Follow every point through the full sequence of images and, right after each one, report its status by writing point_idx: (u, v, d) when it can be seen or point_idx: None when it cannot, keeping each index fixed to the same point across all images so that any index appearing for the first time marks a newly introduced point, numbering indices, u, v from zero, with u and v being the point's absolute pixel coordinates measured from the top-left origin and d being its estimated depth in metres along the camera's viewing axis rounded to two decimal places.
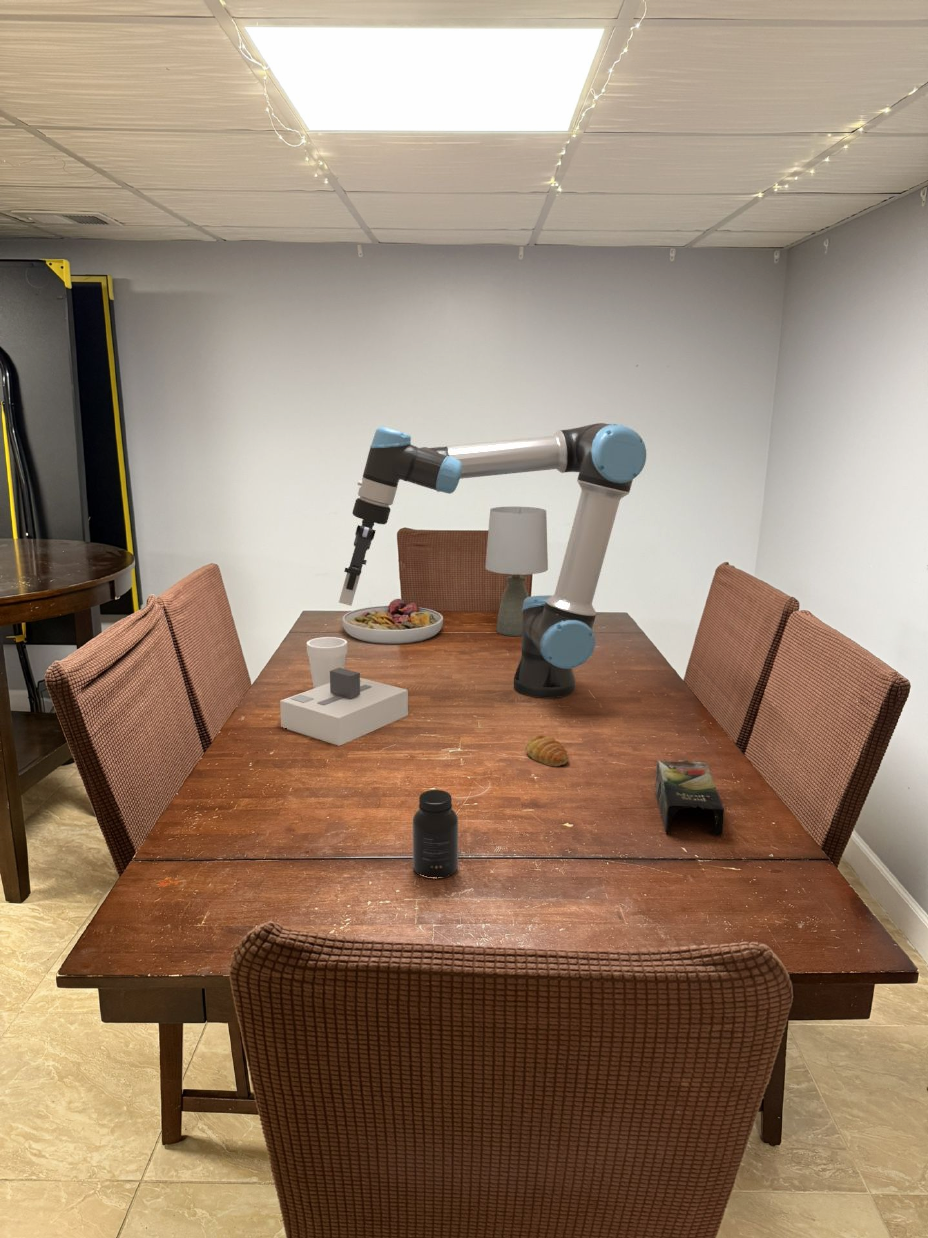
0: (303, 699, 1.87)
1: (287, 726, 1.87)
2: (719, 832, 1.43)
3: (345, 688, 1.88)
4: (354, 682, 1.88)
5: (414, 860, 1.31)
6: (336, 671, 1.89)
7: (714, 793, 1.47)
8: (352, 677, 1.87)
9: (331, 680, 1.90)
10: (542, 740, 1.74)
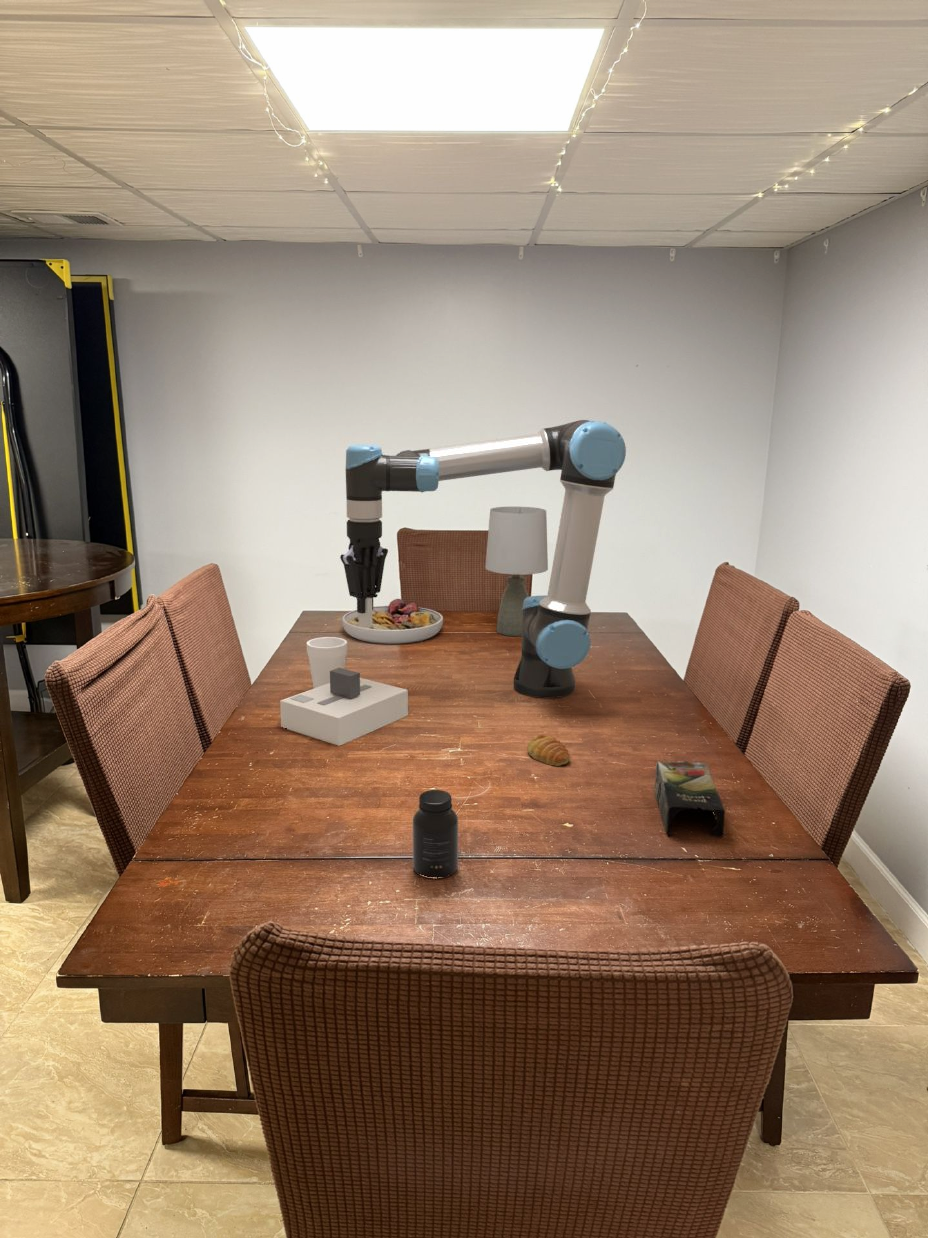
0: (303, 699, 1.87)
1: (287, 726, 1.87)
2: (719, 834, 1.43)
3: (345, 688, 1.88)
4: (354, 682, 1.88)
5: (414, 860, 1.31)
6: (336, 671, 1.89)
7: (714, 794, 1.47)
8: (352, 677, 1.87)
9: (331, 680, 1.90)
10: (543, 740, 1.74)
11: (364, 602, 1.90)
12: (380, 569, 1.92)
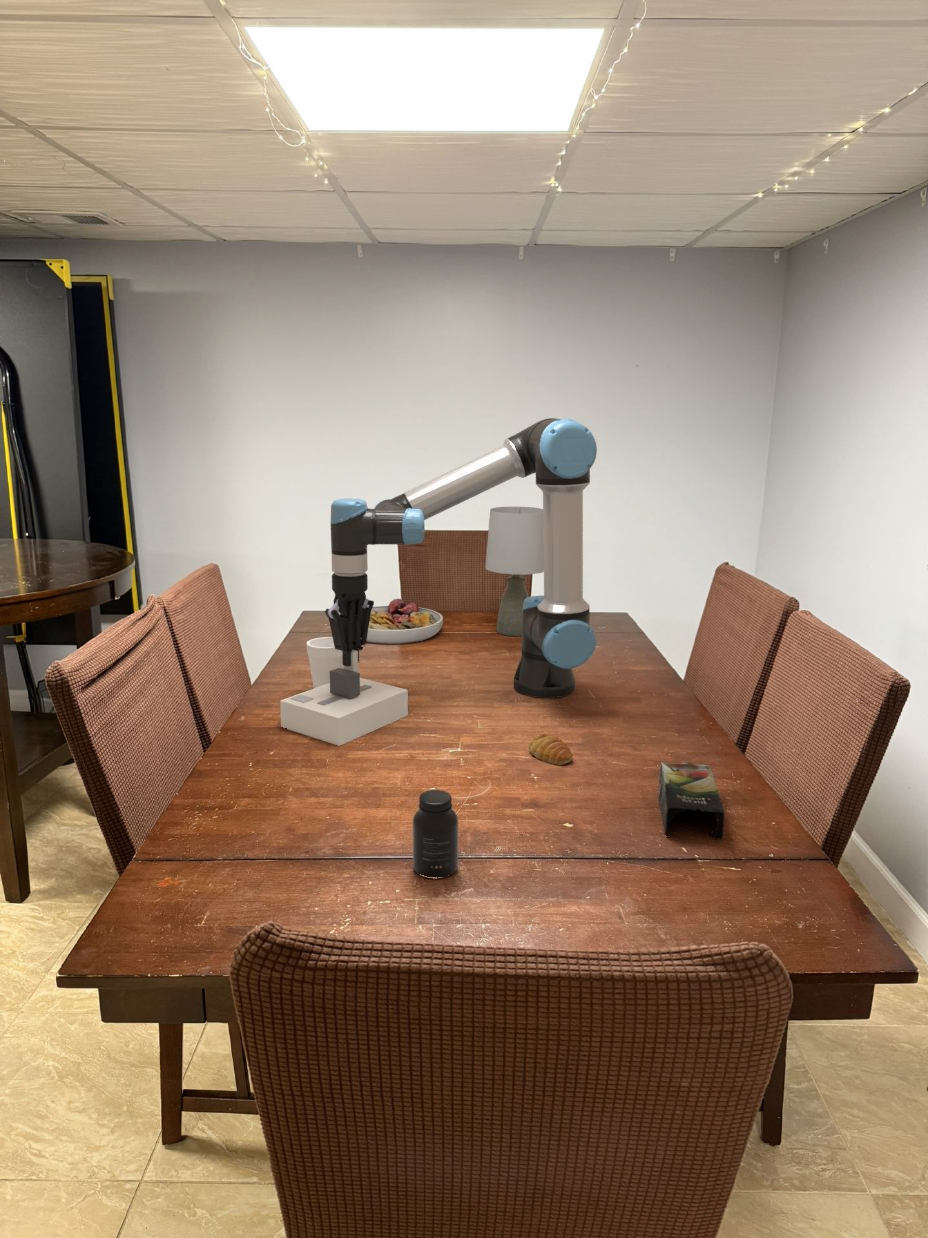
0: (303, 699, 1.87)
1: (287, 726, 1.87)
2: (719, 836, 1.42)
3: (345, 688, 1.88)
4: (354, 682, 1.88)
5: (414, 860, 1.31)
6: (336, 671, 1.89)
7: (715, 796, 1.46)
8: (352, 677, 1.87)
9: (331, 680, 1.90)
10: (545, 739, 1.75)
11: (350, 655, 1.89)
12: (366, 621, 1.91)
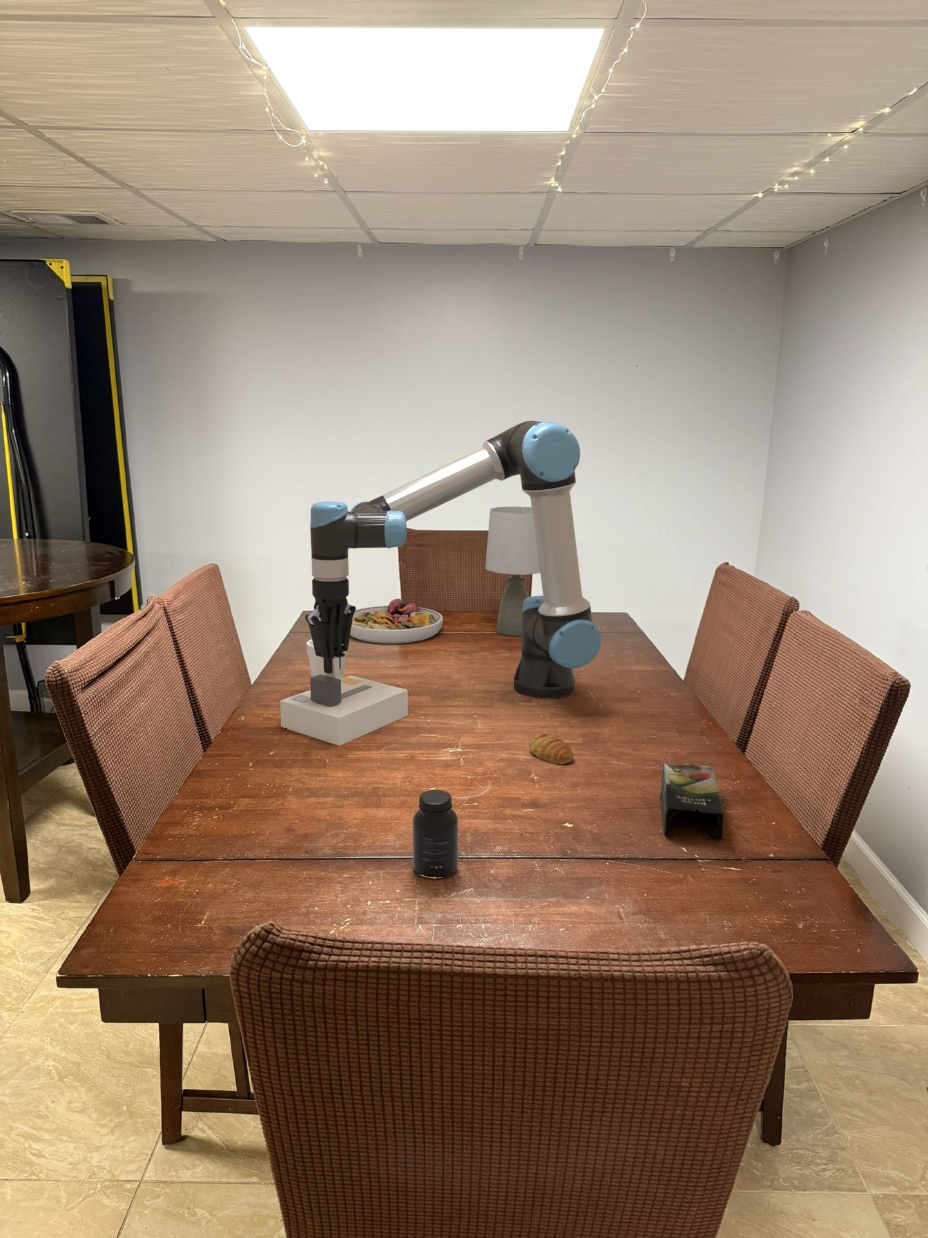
0: (303, 699, 1.87)
1: (287, 726, 1.87)
2: (718, 837, 1.42)
3: (326, 695, 1.83)
4: (335, 689, 1.83)
5: (414, 860, 1.31)
6: (316, 678, 1.85)
7: (716, 797, 1.46)
8: (333, 684, 1.82)
9: (311, 687, 1.85)
10: (546, 738, 1.75)
11: (331, 662, 1.84)
12: (348, 627, 1.86)
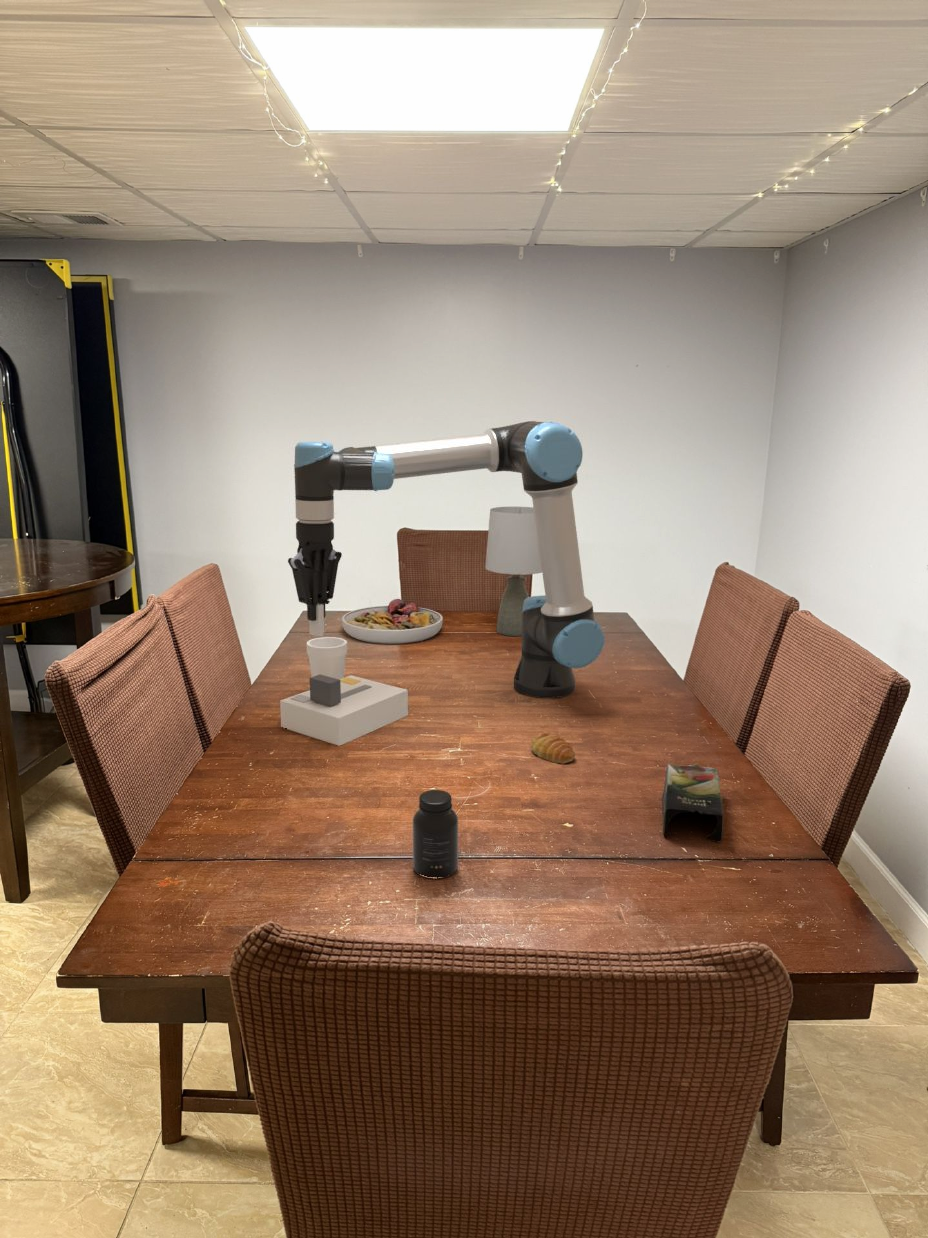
0: (303, 699, 1.87)
1: (287, 726, 1.87)
2: (718, 839, 1.41)
3: (325, 695, 1.83)
4: (335, 689, 1.83)
5: (414, 860, 1.31)
6: (316, 678, 1.84)
7: (717, 799, 1.45)
8: (332, 684, 1.82)
9: (311, 687, 1.85)
10: (547, 738, 1.75)
11: (315, 609, 1.78)
12: (333, 574, 1.80)
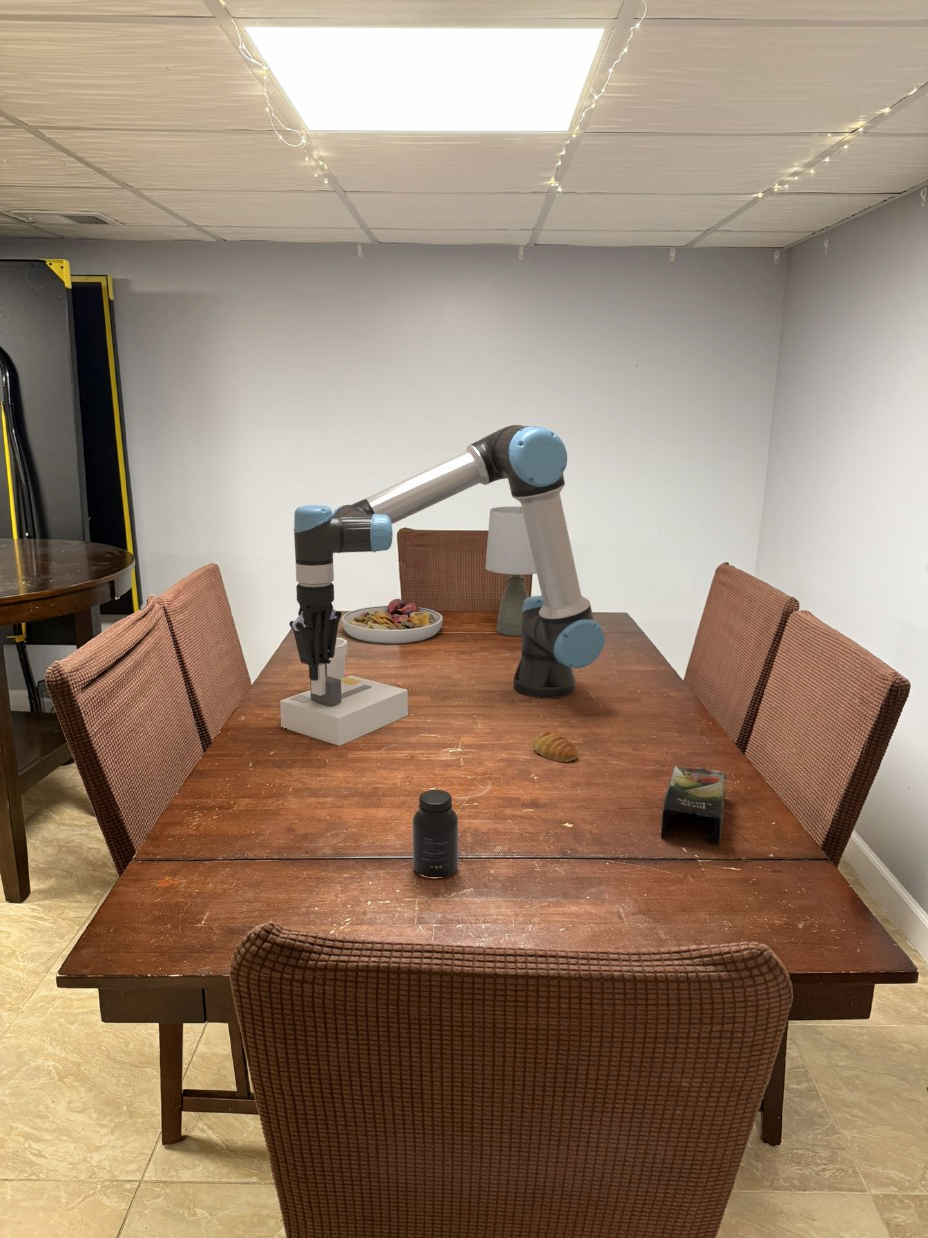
0: (303, 699, 1.87)
1: (287, 726, 1.87)
2: (715, 842, 1.40)
3: (326, 695, 1.83)
4: (335, 689, 1.83)
5: (414, 860, 1.31)
6: None
7: (717, 802, 1.44)
8: (333, 684, 1.82)
9: None
10: (550, 737, 1.76)
11: (316, 669, 1.81)
12: (333, 633, 1.82)
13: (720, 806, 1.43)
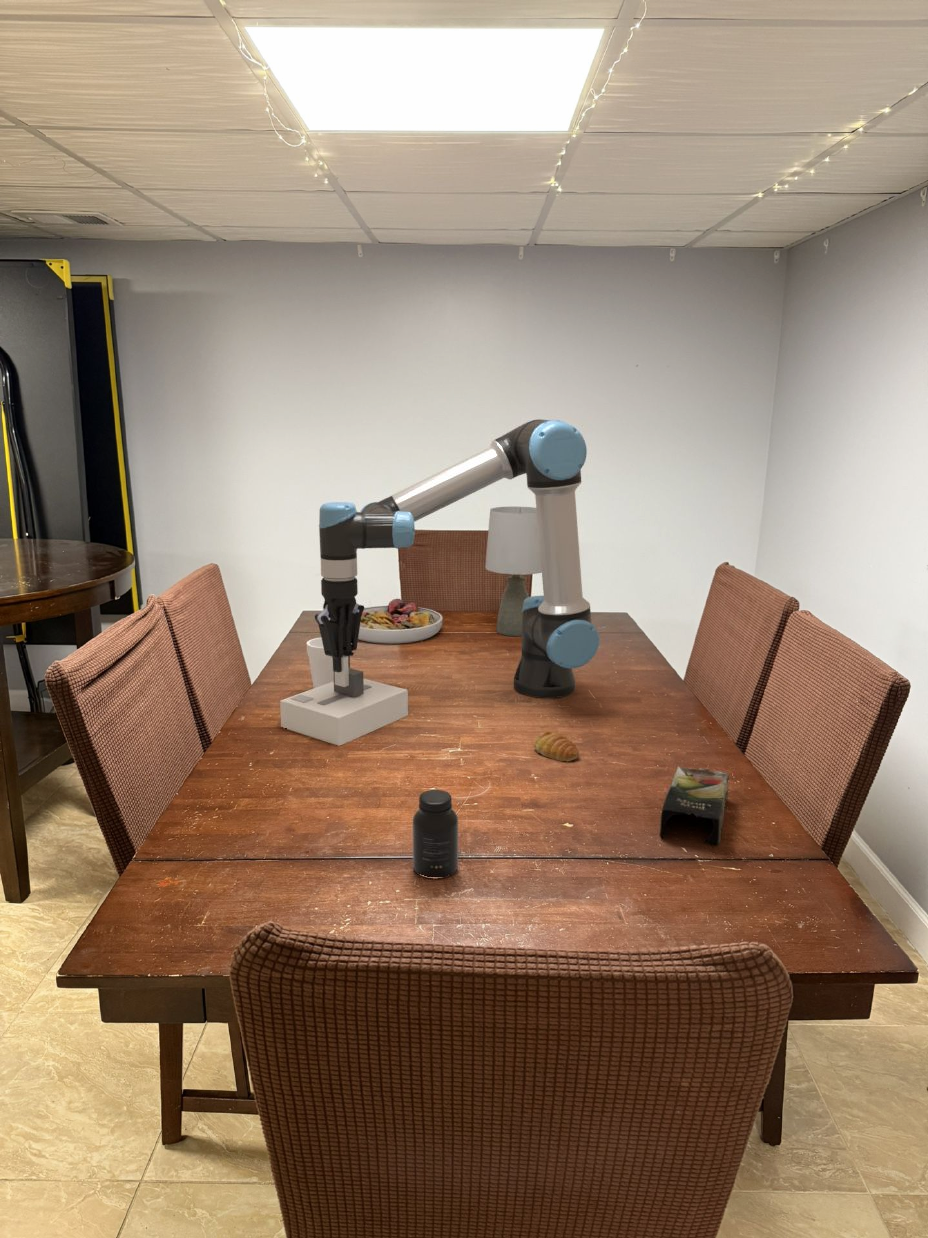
0: (303, 699, 1.87)
1: (287, 726, 1.87)
2: (714, 843, 1.40)
3: (349, 687, 1.89)
4: (358, 681, 1.89)
5: (414, 860, 1.31)
6: None
7: (717, 803, 1.44)
8: (356, 676, 1.88)
9: None
10: (550, 736, 1.76)
11: (340, 661, 1.86)
12: (356, 626, 1.88)
13: (720, 807, 1.42)
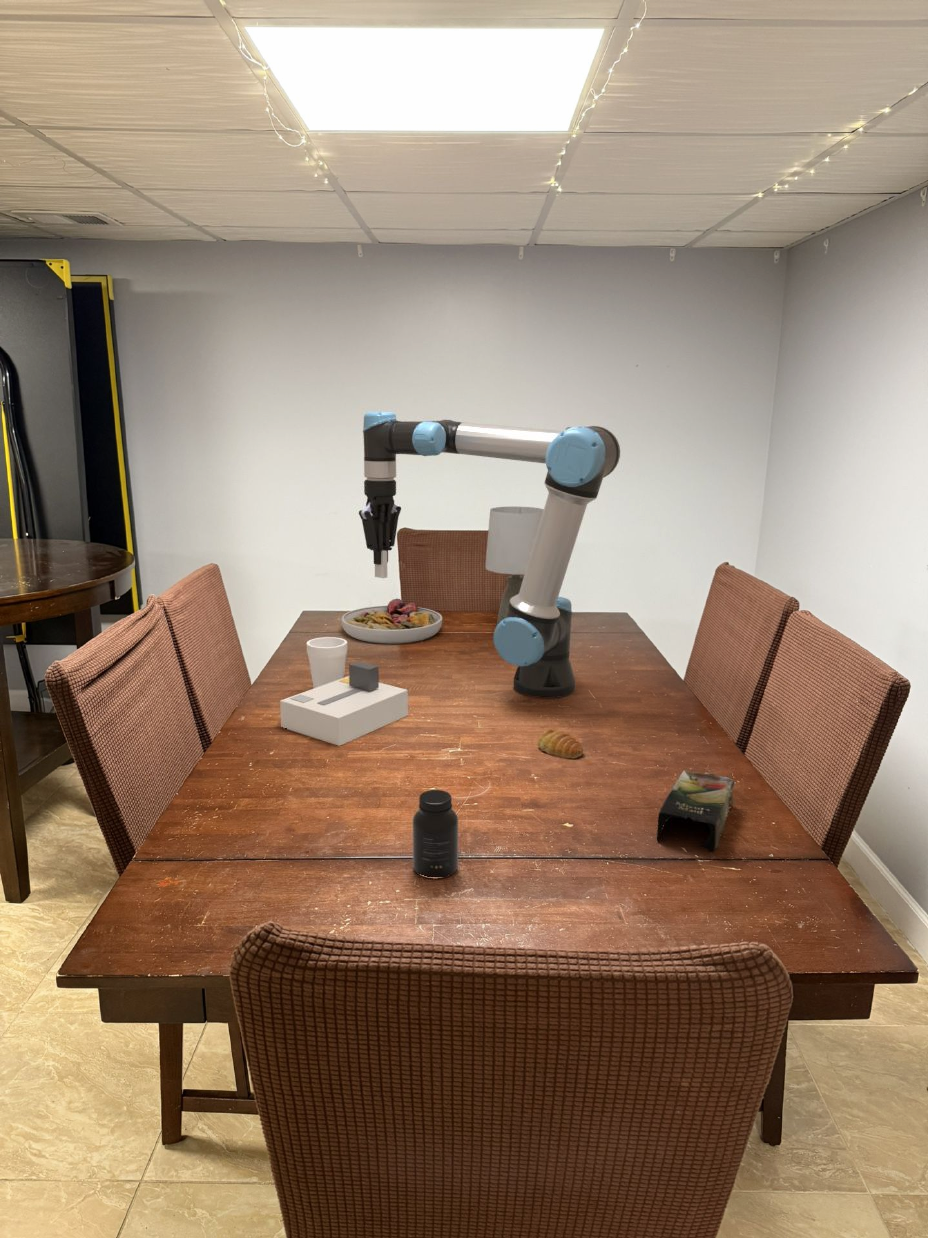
0: (303, 699, 1.87)
1: (287, 726, 1.87)
2: (711, 848, 1.38)
3: (364, 681, 1.92)
4: (373, 675, 1.92)
5: (414, 860, 1.31)
6: (355, 664, 1.94)
7: (717, 808, 1.42)
8: (371, 670, 1.91)
9: (350, 673, 1.94)
10: (554, 734, 1.77)
11: (380, 554, 2.10)
12: (394, 525, 2.12)
13: (719, 812, 1.41)
